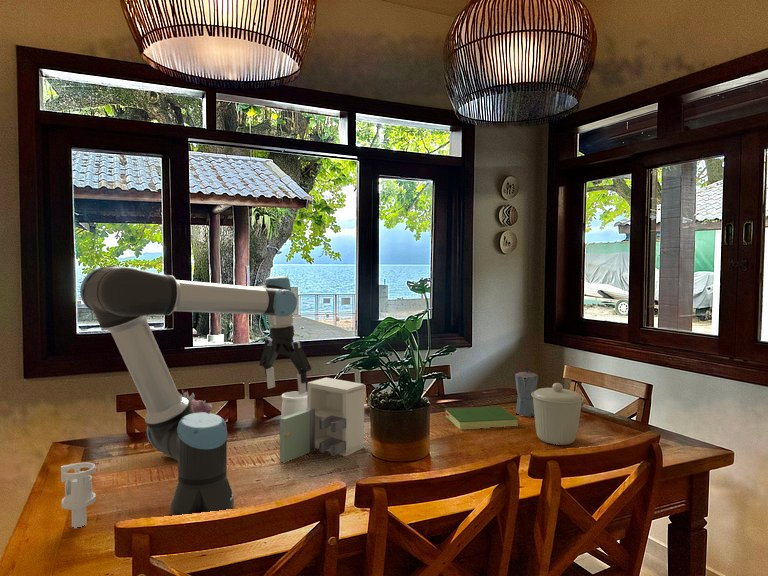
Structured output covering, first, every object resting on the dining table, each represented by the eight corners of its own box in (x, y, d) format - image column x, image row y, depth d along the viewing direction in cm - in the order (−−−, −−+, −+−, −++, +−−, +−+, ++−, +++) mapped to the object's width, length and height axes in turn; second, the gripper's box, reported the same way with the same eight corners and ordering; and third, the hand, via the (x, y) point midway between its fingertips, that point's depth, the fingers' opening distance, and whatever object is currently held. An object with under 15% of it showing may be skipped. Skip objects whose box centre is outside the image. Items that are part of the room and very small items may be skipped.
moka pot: (513, 418, 215) (514, 370, 214) (514, 408, 230) (516, 363, 229) (537, 420, 212) (538, 372, 211) (537, 410, 227) (538, 365, 226)
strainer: (60, 522, 124) (59, 461, 124) (94, 515, 128) (93, 455, 128) (62, 535, 118) (61, 471, 118) (97, 527, 122) (97, 464, 122)
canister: (519, 436, 192) (521, 380, 191) (555, 429, 200) (557, 375, 199) (556, 452, 176) (558, 391, 175) (593, 444, 184) (595, 386, 183)
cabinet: (334, 462, 165) (334, 393, 164) (294, 450, 174) (295, 385, 173) (364, 447, 178) (364, 384, 177) (325, 437, 187) (326, 377, 186)
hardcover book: (498, 414, 222) (498, 405, 222) (518, 428, 203) (518, 418, 203) (442, 417, 217) (442, 408, 217) (457, 431, 198) (457, 421, 198)
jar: (304, 440, 184) (304, 398, 183) (276, 438, 186) (276, 397, 185) (313, 431, 194) (314, 391, 194) (288, 429, 197) (288, 390, 196)
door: (286, 463, 163) (286, 419, 162) (277, 461, 165) (278, 417, 164) (317, 450, 175) (317, 409, 174) (309, 448, 177) (309, 407, 176)
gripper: (319, 325, 160) (324, 391, 163) (262, 320, 174) (267, 382, 176) (303, 330, 154) (308, 399, 157) (244, 325, 168) (250, 388, 170)
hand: (286, 390), depth 167 cm, fingers open, 13 cm apart
